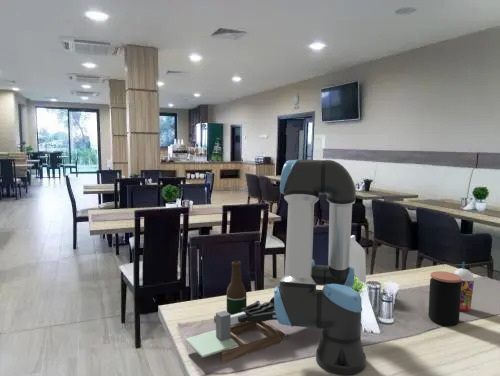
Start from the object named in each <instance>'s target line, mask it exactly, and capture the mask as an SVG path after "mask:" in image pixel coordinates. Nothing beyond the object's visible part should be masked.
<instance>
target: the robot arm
mask: <svg viewBox="0 0 500 376" xmlns="http://www.w3.org/2000/svg"><path fill="white" fill-rule="evenodd" d="M279 182H280V183H279V192H280V194H283V198H284V200H285V201H286V203H287V204H288V205H287V222H286V223H287V224H286V225H287V226H286V241H285V243H286V245H285V261H284V262H285V266H284V276H283V277H282V278H281V279H280V280H279V285H277V286H275V287H274V291H273V293H274V295H273V297H271V299H270V300H269V301H267V302H261V301H260V300H256V301H255V302H254V303H251V304H249V305H247V306H246V307H244V308H242V309H241V313H237V314H234V315H230V325H234V324H237V323H241V322H244V321H251V323H256V322H262V321H266V322H267V321H277V322H278V323H279V324H280V325H283V326H289V327H293V328H294V327H300V328H311V329H320V330H321V331H322V332H321V338H320V340H319V343H318V346H317V348H316V352H315V361H316V363H317V365H318V366H319V367H320V368H321V369H323V370H325V371H327V372H330V373H332V374H337V375H340V376H341V375H343V376H349V375H351V376H352V375H357V374H359V373H362V372H363V371H364V370H365V369H366V366H367V357H366V353H365V351H364V348H363V347H364V346H363V343H362V339H361V338H362V313H363V307H362V304H363V303H362V295H361V296H360V294H359V293H358V292H357V291H355V290H354V289H352V288H350V287H353V286H354V268H353V267H350V266H349V262H350V240H351V236H352V218H353V217H352V215H353V213H352V212H353V204H354V203H355V202H356V197H357V195H356V194H357V192H356V186H355V182H354V180H353V177H352V176H351V174H350V173H349V171H348V170H347V169H346V168H345V167H344V165H342V164H341V163H339V162H338V161H335V160H332V159H299V158H297V159H289V160H287V161H286V162H284V163H283V167H282V170H281V174H280V181H279ZM320 195H323V196H324V195H326V201H327V202H328V203H329V208H328V209H329V216H328V218H329V219H328V255H327V256H328V257H327V258H328V262H327V263H328V264H327V265H326V264H325V265H323V264H316V263H315V260H314V259H313V246H314V245H313V243H314V216H315V214H314V213H315V212H314V211H315V204H316V203H317V202H318V201H319V200H320ZM317 286H321V287H322V286H323V287H322V289H319V288H318V289H317Z"/></svg>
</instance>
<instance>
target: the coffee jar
mask: <svg viewBox="0 0 500 376" xmlns="http://www.w3.org/2000/svg"><path fill="white" fill-rule="evenodd" d="M460 281H461V277H460V276H459V275H457V274H454V272H448V271H440V270H439V271H432V272H431V273H430V280H429V294H428V297H429V298H428V312H427V313H428V314H427V315H428V318H429V319H430V321H431V322H432V323H434V324H437V325H439V326H444V327H455V326H456V325H458V323H459V321H460V312H461V311H460V297H461V283H460Z"/></svg>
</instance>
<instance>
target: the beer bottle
mask: <svg viewBox="0 0 500 376" xmlns="http://www.w3.org/2000/svg"><path fill="white" fill-rule="evenodd" d="M241 266H242V262H241V261H240V260H234V261H232V262H231V267H232V268H231V279H230V283H229V284H228V286H227V288H226V312H228V313H229V314H230V315H234V314H237V313H241V309H242V308H244V307H246V306H248V305H247V304H248V303H247V298H248V297H247V290H246V288H245V287H246V286H245V284H244V283H243V281H242V268H241ZM244 322H246V321H244ZM241 323H242V322H241ZM237 324H239V323H237ZM234 325H235V324H234ZM230 326H232V325H230Z"/></svg>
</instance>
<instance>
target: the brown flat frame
mask: <svg viewBox="0 0 500 376" xmlns="http://www.w3.org/2000/svg"><path fill="white" fill-rule="evenodd" d="M213 321H214V323H216V315H214V316H213ZM230 329H231V339H232V340H233V341H235V342H236V343H237V344H238V346H236V347H233V348H230V349H227V350H224V351H221V352H220V356H221V357H220V360H221V361H220V362H221V363H223V364H224V363H226V362H230V361H233V360H235V359H237V358H241V357H244V356H247V355H249V354H253V353H254V352H255V353H256V352H258V351H261V350H264V349H267V348H270V347H272V346H275V345H278V344H280V343H281V340H282V341H284V340H286V333H284V332H283V331H281V330H280V329H279V328H276V326H274V325H272V324H271V323H270V322H267V321H262V322H256V323H251V321H246V322H242V323H239V324H235V325H232V326H230ZM254 330H257V331H258V332H259V333H261V334H262V335H264V336H266V337H263V338H260V339H257V340H253V341H251V342H248V343H246V342H245V341H244V340H242V339H241V338H240V337H238V335H241V334H244V333H248V332H251V331H254Z"/></svg>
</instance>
